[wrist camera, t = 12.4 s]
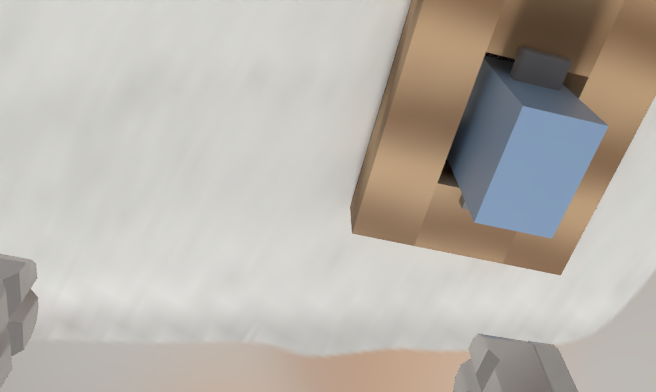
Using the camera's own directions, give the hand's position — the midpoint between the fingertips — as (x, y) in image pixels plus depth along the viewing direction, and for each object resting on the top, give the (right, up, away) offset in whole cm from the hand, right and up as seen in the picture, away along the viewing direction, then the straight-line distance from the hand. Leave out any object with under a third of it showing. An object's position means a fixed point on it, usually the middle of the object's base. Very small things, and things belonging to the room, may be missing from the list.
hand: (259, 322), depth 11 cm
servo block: (+11, +7, +23) cm, 26 cm away
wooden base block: (+11, +7, +23) cm, 26 cm away
